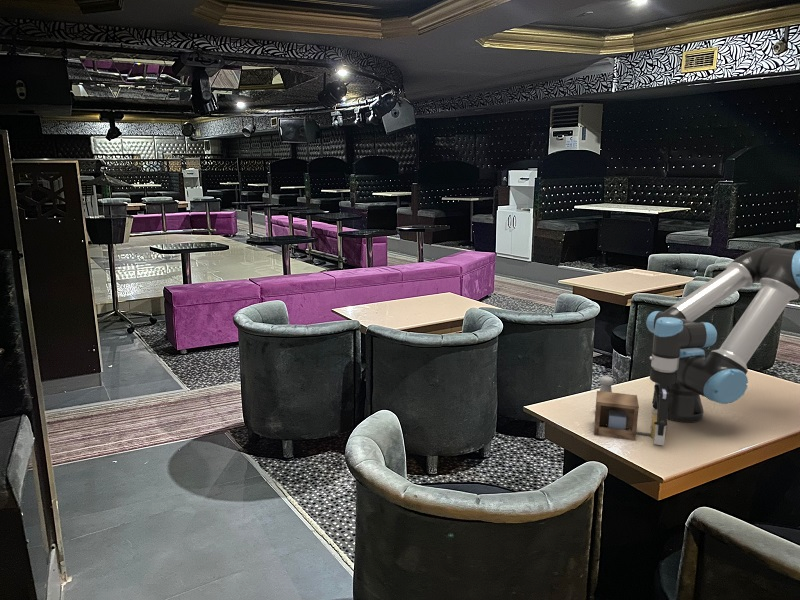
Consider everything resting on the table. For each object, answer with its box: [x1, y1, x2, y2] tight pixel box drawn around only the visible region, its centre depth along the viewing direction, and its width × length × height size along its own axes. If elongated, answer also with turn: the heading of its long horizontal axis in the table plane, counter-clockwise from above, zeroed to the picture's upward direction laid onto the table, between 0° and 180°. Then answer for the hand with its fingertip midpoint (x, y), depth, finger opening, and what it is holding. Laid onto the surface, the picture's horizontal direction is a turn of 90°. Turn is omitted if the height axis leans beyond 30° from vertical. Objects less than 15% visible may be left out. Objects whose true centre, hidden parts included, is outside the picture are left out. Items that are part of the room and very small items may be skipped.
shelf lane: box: [593, 390, 640, 441], centre depth 186 cm, size 12×10×11 cm
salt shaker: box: [594, 375, 614, 408], centre depth 199 cm, size 6×6×13 cm
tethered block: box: [607, 410, 657, 439], centre depth 184 cm, size 16×5×7 cm, turn 72°
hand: (656, 436), depth 183 cm, fingers open, 11 cm apart
